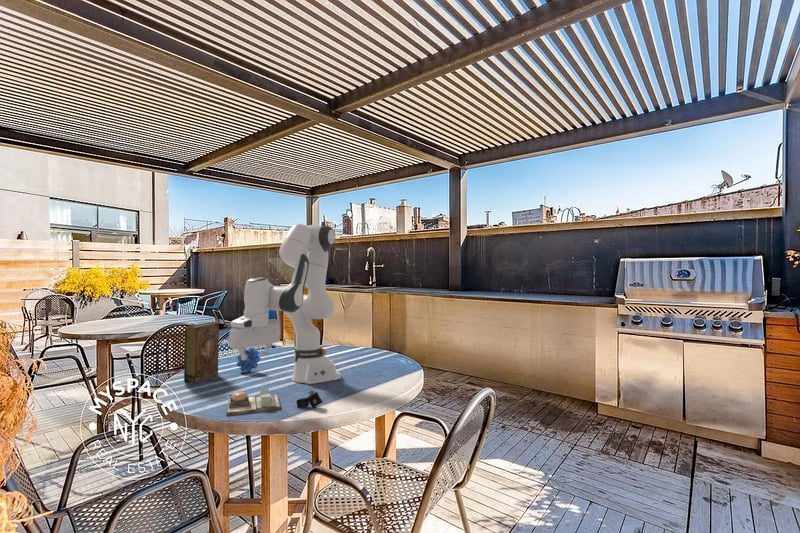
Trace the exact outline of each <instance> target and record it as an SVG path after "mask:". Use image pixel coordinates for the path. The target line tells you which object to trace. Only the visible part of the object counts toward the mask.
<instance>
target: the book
mask: <svg viewBox="0 0 800 533" xmlns="http://www.w3.org/2000/svg"><path fill="white" fill-rule="evenodd" d="M219 326H220V324H219V322H217V321H216V322H215V321H211V322H210V321H209V322H203V323H198V324H192V325H188V326H185V328H184V365H183V366H184V371H183V381H184V384H189V383H190V384H195V385H196V383H198V384H199V382H201V383H203V382H205V380H206V381H207V380H210V379H212V378H215V377H218V376H219V341H220V340H219V338H220V337H219V334H220V333H219V332H220V329H219V328H220V327H219ZM202 381H203V382H202Z"/></svg>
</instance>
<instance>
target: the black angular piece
mask: <svg viewBox="0 0 800 533" xmlns="http://www.w3.org/2000/svg"><path fill="white" fill-rule="evenodd" d="M308 394H309V395H307V397H304V398H303V397H302V398H299V399H297V400H295V401H296V406H297V408H301V409H302V408H303V409H304V408H306V407H307V408H308V406H309V405H310V406H311V407H312V409H314V408H315V407H317V406H319V405H321V404H322V403H323V401H324V400H322V398H321V397H320V395H319V393H318V391H314V390H310V391H309V392H308Z"/></svg>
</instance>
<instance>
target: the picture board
mask: <svg viewBox="0 0 800 533" xmlns="http://www.w3.org/2000/svg"><path fill="white" fill-rule="evenodd" d="M270 396H271V404H270V405H268V406H261V398H260V395H255V396H249V395H248V394H247V400H246V401H241V402H232V396H230V397H229V399H228V400H227V406H226V416H237V415H245V414H252V413H254V414H255V413H261V412H270V411H279V410H281V408H282V406H281V403H280V399H279V396H278V394H274V393H273V394H270Z"/></svg>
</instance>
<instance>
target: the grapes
mask: <svg viewBox="0 0 800 533" xmlns="http://www.w3.org/2000/svg"><path fill="white" fill-rule="evenodd" d="M244 353H245V355H248V356H247V360H241V355H240V354H239V355H237V360H238V361H237V362H236V366H237V367H239V369H240V371H241V372H245V371H246V372H247V373H249V372H250V373H251V372H252V371H253V369H257V367H258V366H259V364H258V363H259V362H260V361H261V357H260V356H259V354H260V353H259V350H255V349H254V348H253V347H248V349H247V348H245V351H244Z"/></svg>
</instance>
